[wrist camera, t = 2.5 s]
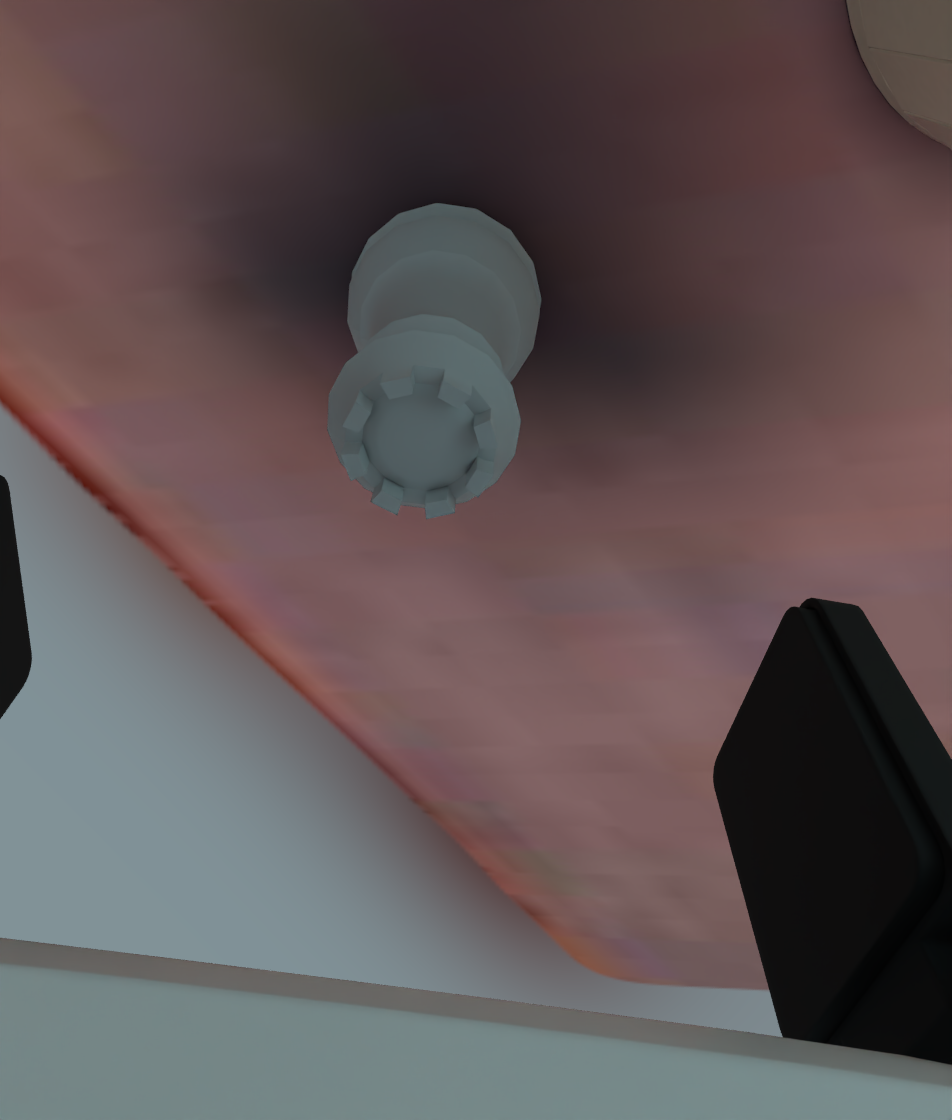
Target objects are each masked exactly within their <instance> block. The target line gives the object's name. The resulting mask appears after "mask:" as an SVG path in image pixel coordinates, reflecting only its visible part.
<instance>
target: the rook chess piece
mask: <svg viewBox="0 0 952 1120" xmlns="http://www.w3.org/2000/svg"><path fill="white" fill-rule="evenodd" d="M540 306H541V295H540V291H539V286H538V282H537V277H536V272H535V268H534V263H533V261H532V260H531V258H530V257H529V256H528V254H527V253H526V251H525V250H524V248H523V247H522V246H521V244H520V243H519V241H518V240H517V239H516V237H515V236H514V234H513V233H512V231H511V230H510V229H508V228H506V227H505V226H503V225H502V224H500V223H498V222H497V221H495V220H494V219H492V218H490V217H489V216H487V215H486V214H484V213H482V212H481V211H479V210H478V209H474V208H468V207H461V206H454V205H448V204H441V203H435V204H431V205H427V206H424V207H420V208H416V209H413V210H409V211H406V212H402V213H399V214H397V215H396V216H395V217H394V218H393V219H391V220H390V221H389V222H388V223H387V224H385V225H384V226H383V227H382V228H381V229H379V230H378V231H377V232H376V233H375V234H373V235H372V236H371V237H370V238H369V239H368V241H367V243H366V245H365V247H364V249H363V251H362V253H361V255H360V257H359V259H358V261H357V263H356V265H355V267H354V269H353V271H352V280H351V282H350V284H349V299H348V318H347V323H348V326H349V328H350V331H351V334H352V337H353V340H354V343H355V345H356V348H357V351H358V353H357V354H356V355H355V356H353V357H352V358H351V359H350V360H348V361H347V362H346V363H345V364H344V366H343V368H342V370H341V372H340V374H339V376H338V378H337V380H336V382H335V384H334V386H333V388H332V389H331V391H330V393H329V403H328V427H327V430H328V432H329V435H330V438H331V440H332V443H333V445H334V448H335V450H336V453H337V455H338V458H339V461H340V463H341V464H342V465H343V466H344V467H345V468H346V470H347V473H348V475H349V478H350V480H351V481H352V480H354V479H356V480H357V481H358V482H359V483H360V484H361V485H362V486H363V487H364V488H365V489H367V490H369V491H371V492H373V495H372V499H371V502H372V503H374V504H376V505H378V506H380V507H382V508H384V509H386V510H388V511H390V512H392V513H394V514H396V515H397V514H398V511H399V508H400V505H404V506H412V507H419V508H425V511H426V519H429V518H433V517H438V516H443V515H447V514H452V513H455V504H459V503H463V502H467V501H469V500H470V499H472V498H473V497H475V496H477V497H479V496H480V494H481V493H482V491H484V490H486V489H487V488H489V487H490V486H492V485H493V484H495V483H496V482H497V480H498V479H499V477H500V476H501V474H502V473H503V471H504V470H505V469H506V467H507V466H508V464H509V463H510V461H511V460H512V458H513V457H514V455H515V451H516V446H517V440H518V435H519V429H520V424H521V419H520V415H519V411H518V407H517V403H516V399H515V395H514V391H513V387H512V385H511V384H510V382H511V381H512V380H513V379H514V378H515V376H516V375H517V373H518V371H519V370H520V368H521V367H522V365H523V364H524V362H525V361H526V359H527V357H528V356H529V354H530V353H531V351H532V350H533V348H534V342H535V336H536V331H537V325H538V320H539V314H540Z"/></svg>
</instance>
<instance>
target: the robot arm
mask: <svg viewBox="0 0 952 1120" xmlns="http://www.w3.org/2000/svg"><path fill="white" fill-rule="evenodd" d="M24 602H25V601H24V594H23V587H22V580H21V573H20V564H19V557H18V550H17V543H16V535H15V528H14V521H13V513H12V505H11V498H10V491H9V486H8V483H7V481H6V479H5V478H4V477H3V476H1V475H0V719H1V717H2V716H3V714H4V713H5V712H6V710H7V709H8V707H9V706H10V704H11V703H12V702H13V700H14V699H15V697H16V696H17V694H18V693H19V692H20V690H21V689H22V687H23V686H24V684H25V682H26V680H27V678H28V675H29V672H30V668H31V661H32V655H31V654H32V653H31V646H30V638H29V631H28V624H27V616H26V609H25V603H24ZM713 782H714V788H715V792H716V796H717V799H718V803H719V807H720V810H721V814H722V818H723V822H724V825H725V829H726V833H727V836H728V840H729V844H730V847H731V851H732V855H733V858H734V862H735V866H736V869H737V873H738V877H739V880H740V884H741V888H742V891H743V895H744V899H745V902H746V906H747V910H748V913H749V917H750V921H751V924H752V928H753V932H754V935H755V939H756V943H757V946H758V950H759V954H760V957H761V961H762V965H763V968H764V972H765V976H766V979H767V983H768V987H769V990H770V994H771V998H772V1001H773V1005H774V1009H775V1012H776V1016H777V1020H778V1023H779V1027H780V1030H781V1033H782V1036H783V1037H776V1036H769V1035H763V1034H756V1033H750V1032H741V1031H735V1030H727V1029H719V1028H712V1027H704V1026H696V1025H689V1024H681V1023H673V1022H666V1021H658V1020H650V1019H643V1018H635V1017H627V1016H620V1015H613V1014H612V1015H611V1014H604V1013H597V1012H590V1011H582V1010H574V1009H566V1008H559V1007H552V1006H544V1005H536V1004H529V1003H520V1002H513V1001H506V1000H498V999H490V998H482V997H474V996H467V995H459V994H450V993H443V992H435V991H427V990H419V989H411V988H404V987H395V986H388V985H380V984H371V983H364V982H356V981H348V980H340V979H332V978H324V977H316V976H308V975H300V974H292V973H284V972H276V971H268V970H260V969H252V968H244V967H236V966H227V965H220V964H212V963H204V962H196V961H188V960H180V959H172V958H164V957H155V956H147V955H139V954H130V953H121V952H114V951H105V950H97V949H88V948H81V947H72V946H63V945H55V944H47V943H38V942H31V941H22V940H13V939H6V938H0V1120H952V759H951V758H950V756H949V754H948V753H947V751H946V749H945V748H944V746H943V744H942V743H941V741H940V739H939V738H938V736H937V734H936V733H935V731H934V729H933V728H932V726H931V724H930V723H929V721H928V719H927V718H926V716H925V714H924V713H923V711H922V709H921V708H920V706H919V704H918V703H917V701H916V699H915V698H914V696H913V694H912V693H911V691H910V689H909V688H908V686H907V684H906V683H905V681H904V679H903V678H902V676H901V674H900V672H899V671H898V669H897V667H896V666H895V664H894V662H893V661H892V659H891V657H890V656H889V654H888V652H887V651H886V649H885V647H884V646H883V644H882V642H881V641H880V639H879V637H878V636H877V634H876V632H875V631H874V629H873V627H872V626H871V624H870V622H869V621H868V619H867V617H866V616H865V614H864V612H863V611H862V610H861V609H860V608H859V606H856V605H852V604H846V603H840V602H834V601H828V600H822V599H816V598H810V599H806V600H805V601H804V602H803V603H802V604H801V606H800V607H791V608H789V609H788V610H787V611H786V613H785V614H784V616H783V618H782V620H781V622H780V624H779V626H778V629H777V631H776V633H775V635H774V637H773V639H772V641H771V643H770V646H769V648H768V650H767V652H766V654H765V656H764V658H763V660H762V663H761V665H760V667H759V669H758V671H757V673H756V675H755V677H754V680H753V682H752V684H751V686H750V688H749V690H748V692H747V694H746V697H745V699H744V701H743V703H742V705H741V707H740V709H739V711H738V713H737V716H736V718H735V720H734V722H733V724H732V726H731V728H730V730H729V733H728V735H727V737H726V739H725V741H724V743H723V745H722V747H721V750H720V752H719V754H718V756H717V759H716V761H715V766H714V773H713Z"/></svg>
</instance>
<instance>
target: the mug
mask: <svg viewBox="0 0 952 1120" xmlns="http://www.w3.org/2000/svg"><path fill="white" fill-rule="evenodd" d="M846 1H847V7H848V12H849V18H850V23H851V27H852V31H853V34H854V37H855V40H856V43H857V46H858V49H859V52H860V55H861V57H862V59H863V61H864V63H865V65H866V67H867V69H868V71H869V73H870V75H871V77H872V79H873V81H874V83H875V84H876V86H877V87H878V88H879V90H880V91H881V93H882V94H883V95H884V97H885V98H886V100H887V101H888V102H889V104H890V105H891V106H892V107H893V108H894V109H895V110H896V111H897V112H898V113H899V114H900V115H901V116H902V117H903V118H904V119H905V120H906V121H907V122H908V123H909V124H911V125H912V126H913V127H915V128H916V129H918V130H919V131H921V132H922V133H924V134H925V135H926V136H928V137H929V138H931V139H933V140H935V141H937V142H939V143H942V144H944V145H946V146H948V147H949V148H950V149H951V150H952V0H846Z"/></svg>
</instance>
